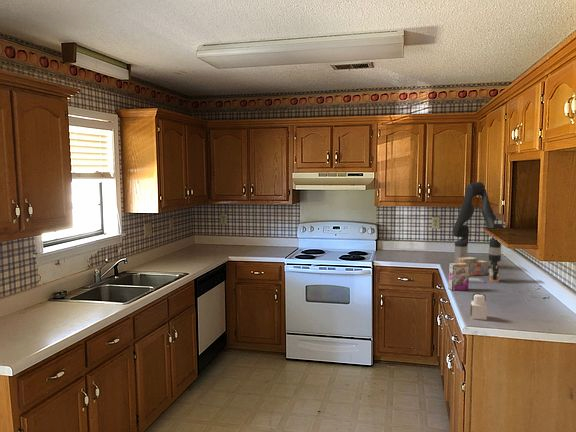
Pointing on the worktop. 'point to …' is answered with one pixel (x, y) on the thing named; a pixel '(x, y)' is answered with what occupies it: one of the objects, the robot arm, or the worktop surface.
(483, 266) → the stack of blocks
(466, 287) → the candy bar box
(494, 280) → the cream and brown block
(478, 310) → the medicine bottle
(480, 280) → the base plate
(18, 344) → the worktop surface
